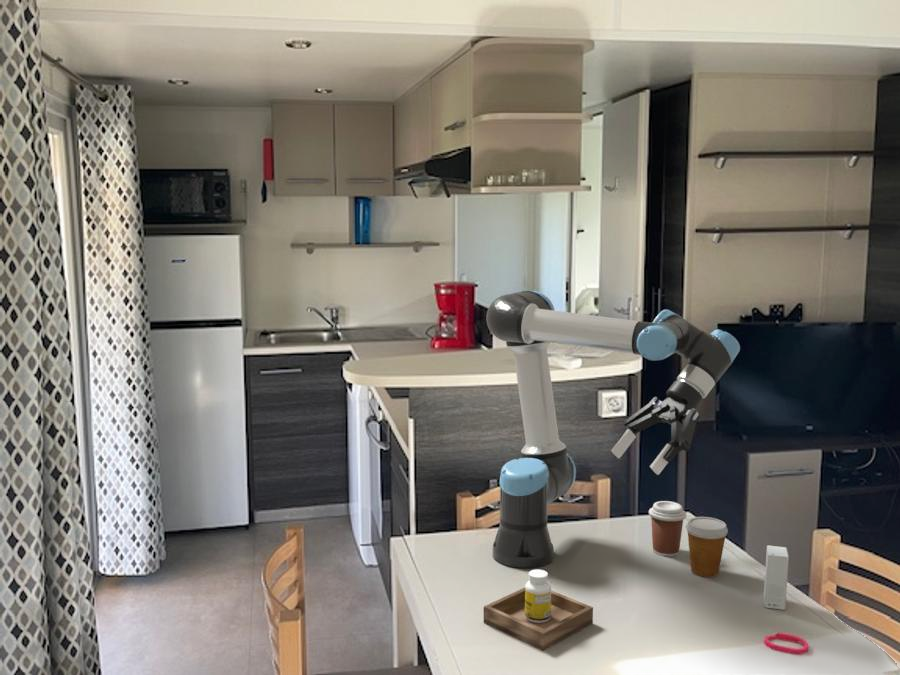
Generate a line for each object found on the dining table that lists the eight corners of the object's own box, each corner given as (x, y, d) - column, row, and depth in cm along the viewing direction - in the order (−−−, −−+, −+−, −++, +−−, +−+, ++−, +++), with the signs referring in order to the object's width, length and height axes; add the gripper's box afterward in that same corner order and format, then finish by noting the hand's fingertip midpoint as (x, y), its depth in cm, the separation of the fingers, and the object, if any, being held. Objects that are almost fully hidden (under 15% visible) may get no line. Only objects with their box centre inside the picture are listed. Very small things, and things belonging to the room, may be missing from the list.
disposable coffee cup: (727, 581, 198) (730, 532, 196) (685, 578, 200) (687, 528, 198) (723, 565, 207) (725, 517, 205) (682, 561, 209) (684, 514, 207)
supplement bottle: (522, 612, 181) (523, 568, 179) (547, 611, 181) (548, 567, 180) (527, 624, 175) (527, 579, 174) (553, 623, 176) (554, 578, 174)
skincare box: (785, 610, 184) (789, 557, 182) (764, 608, 185) (767, 555, 183) (783, 598, 190) (786, 546, 188) (763, 596, 191) (766, 544, 189)
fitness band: (808, 644, 170) (809, 637, 170) (807, 658, 165) (808, 651, 165) (765, 636, 174) (765, 629, 173) (762, 649, 168) (763, 642, 168)
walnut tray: (483, 622, 178) (483, 606, 178) (533, 598, 190) (533, 583, 189) (543, 650, 167) (543, 633, 167) (592, 623, 178) (593, 607, 178)
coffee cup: (647, 556, 212) (649, 510, 210) (647, 542, 221) (648, 498, 219) (685, 560, 210) (687, 513, 208) (683, 546, 219) (685, 500, 217)
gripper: (738, 411, 184) (681, 488, 180) (662, 389, 206) (609, 458, 202) (721, 389, 181) (662, 467, 177) (645, 369, 203) (591, 438, 199)
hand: (633, 462), depth 189 cm, fingers open, 13 cm apart
